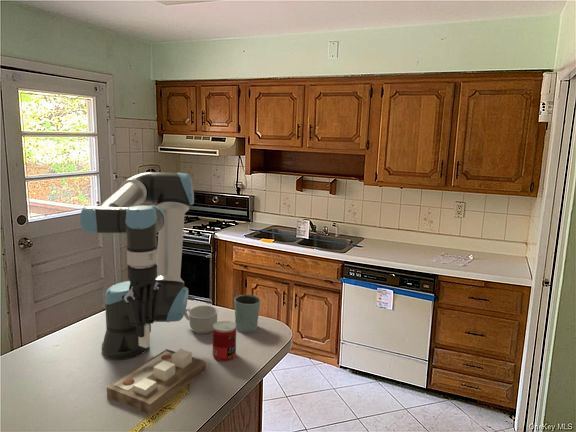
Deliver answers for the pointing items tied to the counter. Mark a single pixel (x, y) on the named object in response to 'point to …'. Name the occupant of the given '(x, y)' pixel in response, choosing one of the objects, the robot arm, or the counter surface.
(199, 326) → the teacup
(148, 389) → the button
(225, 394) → the counter surface
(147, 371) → the button board
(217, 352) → the canned food
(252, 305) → the blue-green cup
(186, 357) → the button
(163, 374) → the button middle
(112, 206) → the robot arm
